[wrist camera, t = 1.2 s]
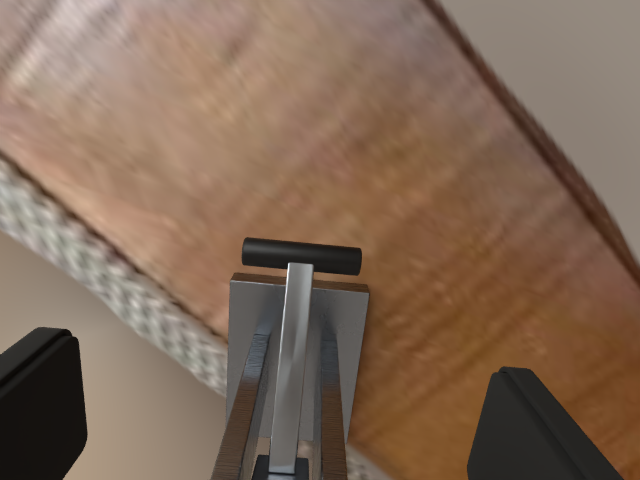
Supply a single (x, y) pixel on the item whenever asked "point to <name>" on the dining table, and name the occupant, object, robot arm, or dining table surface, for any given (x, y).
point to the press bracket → (319, 378)
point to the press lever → (293, 341)
